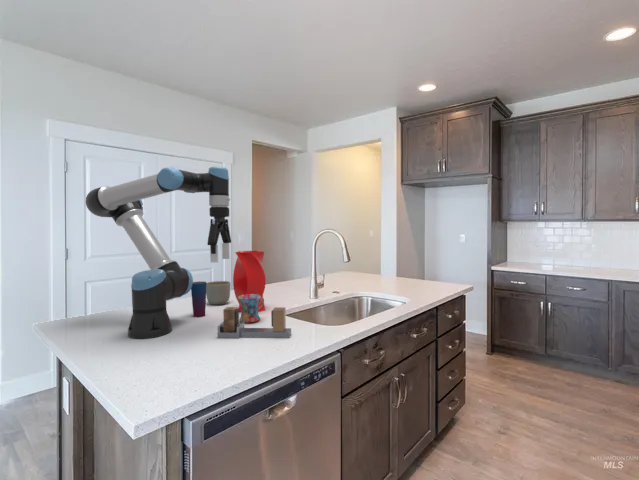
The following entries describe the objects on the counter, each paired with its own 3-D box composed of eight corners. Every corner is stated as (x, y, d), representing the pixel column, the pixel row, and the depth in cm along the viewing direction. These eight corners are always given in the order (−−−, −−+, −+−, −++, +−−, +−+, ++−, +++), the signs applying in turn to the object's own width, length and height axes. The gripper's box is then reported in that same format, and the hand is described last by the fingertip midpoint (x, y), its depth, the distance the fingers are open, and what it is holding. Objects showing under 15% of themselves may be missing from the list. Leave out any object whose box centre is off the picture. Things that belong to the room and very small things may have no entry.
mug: (246, 325, 143) (246, 299, 143) (234, 321, 150) (233, 296, 149) (270, 319, 152) (270, 295, 151) (257, 315, 158) (257, 292, 158)
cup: (188, 316, 157) (187, 283, 157) (198, 313, 164) (197, 281, 163) (200, 318, 155) (199, 284, 154) (210, 314, 161) (209, 281, 160)
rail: (217, 338, 128) (216, 310, 127) (223, 331, 135) (223, 306, 134) (288, 338, 126) (288, 311, 126) (291, 332, 133) (291, 306, 133)
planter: (204, 302, 186) (204, 282, 186) (228, 300, 191) (228, 280, 191) (207, 307, 175) (207, 285, 174) (232, 304, 180) (232, 283, 180)
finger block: (223, 331, 129) (223, 309, 129) (227, 328, 133) (226, 307, 133) (236, 331, 129) (235, 309, 128) (239, 328, 133) (238, 307, 132)
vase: (242, 315, 160) (241, 253, 158) (228, 309, 171) (227, 251, 170) (271, 309, 169) (270, 251, 168) (256, 304, 180) (255, 249, 179)
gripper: (217, 205, 127) (219, 264, 128) (237, 208, 151) (238, 257, 152) (197, 205, 127) (198, 264, 128) (220, 208, 152) (221, 257, 153)
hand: (220, 260), depth 140 cm, fingers open, 13 cm apart
